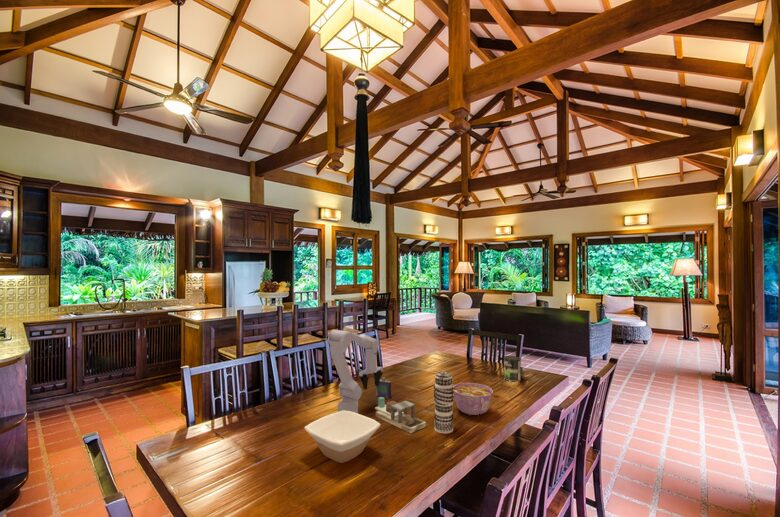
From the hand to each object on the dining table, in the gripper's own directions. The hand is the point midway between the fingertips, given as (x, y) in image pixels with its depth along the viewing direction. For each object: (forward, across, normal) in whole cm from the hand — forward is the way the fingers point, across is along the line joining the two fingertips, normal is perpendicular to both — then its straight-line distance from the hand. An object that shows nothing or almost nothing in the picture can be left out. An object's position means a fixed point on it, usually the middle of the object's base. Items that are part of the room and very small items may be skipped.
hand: (371, 387), depth 184 cm
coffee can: (+10, +96, -27) cm, 100 cm away
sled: (+8, -1, -15) cm, 17 cm away
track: (+10, -1, -23) cm, 25 cm away
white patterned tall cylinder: (+10, +8, -42) cm, 44 cm away
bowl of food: (+10, +33, -40) cm, 53 cm away
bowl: (+10, -37, -28) cm, 48 cm away
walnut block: (+7, -1, -17) cm, 19 cm away
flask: (+10, +14, +6) cm, 18 cm away
